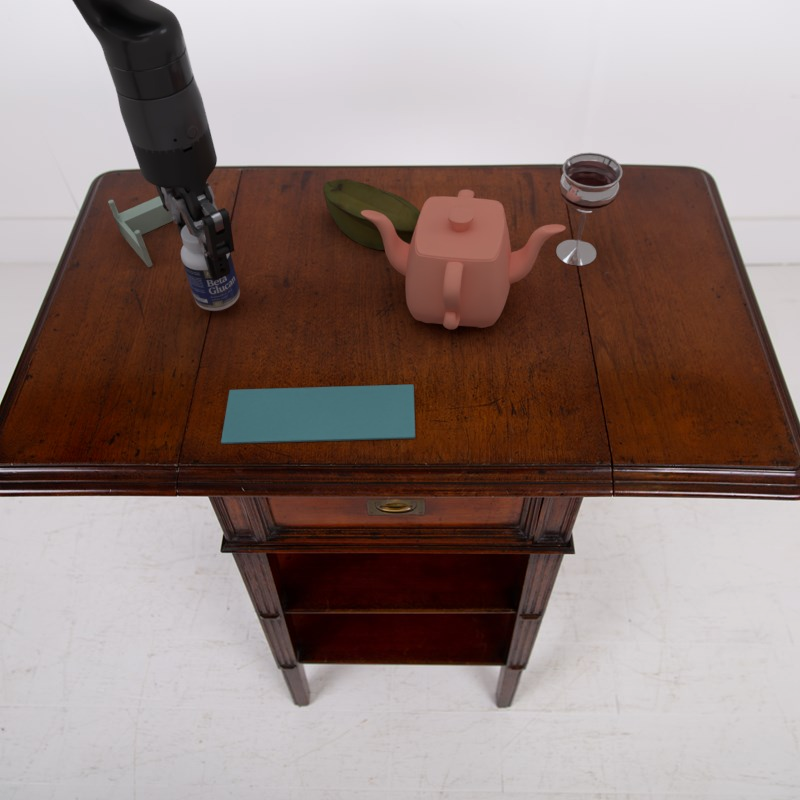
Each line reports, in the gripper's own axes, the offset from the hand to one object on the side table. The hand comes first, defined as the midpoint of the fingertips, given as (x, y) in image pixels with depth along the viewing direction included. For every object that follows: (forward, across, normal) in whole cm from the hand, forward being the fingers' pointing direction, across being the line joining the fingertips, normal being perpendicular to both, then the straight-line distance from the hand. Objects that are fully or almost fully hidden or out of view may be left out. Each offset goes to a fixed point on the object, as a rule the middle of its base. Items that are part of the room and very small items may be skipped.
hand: (207, 261), depth 85 cm
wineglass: (+7, +20, +39) cm, 45 cm away
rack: (+7, -16, 0) cm, 17 cm away
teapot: (+7, +17, +23) cm, 29 cm away
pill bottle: (+6, 0, 0) cm, 6 cm away
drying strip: (+7, +21, 0) cm, 22 cm away
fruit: (+7, +1, +22) cm, 23 cm away
